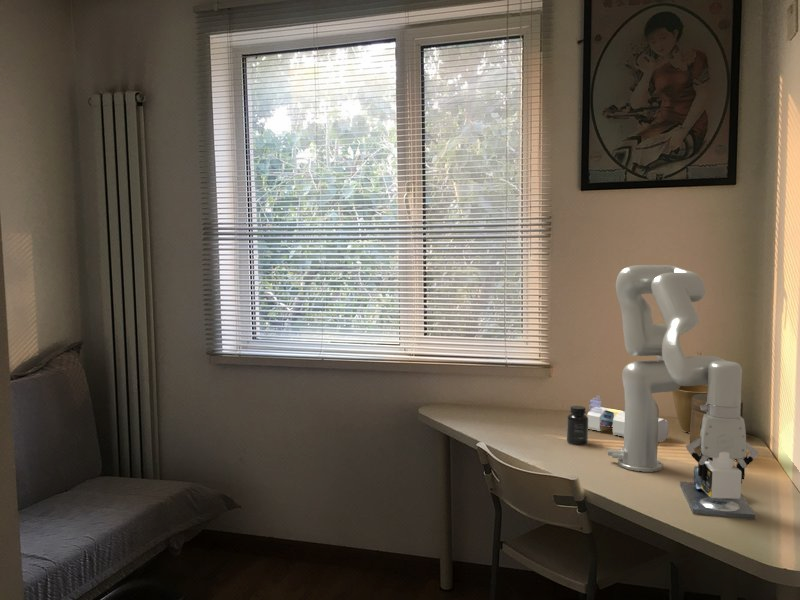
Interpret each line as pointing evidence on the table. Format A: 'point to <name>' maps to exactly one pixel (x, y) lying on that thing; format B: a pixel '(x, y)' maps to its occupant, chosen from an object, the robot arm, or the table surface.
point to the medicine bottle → (722, 478)
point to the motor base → (714, 501)
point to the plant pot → (686, 403)
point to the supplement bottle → (577, 426)
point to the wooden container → (700, 417)
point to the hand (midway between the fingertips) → (720, 480)
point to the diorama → (616, 420)
